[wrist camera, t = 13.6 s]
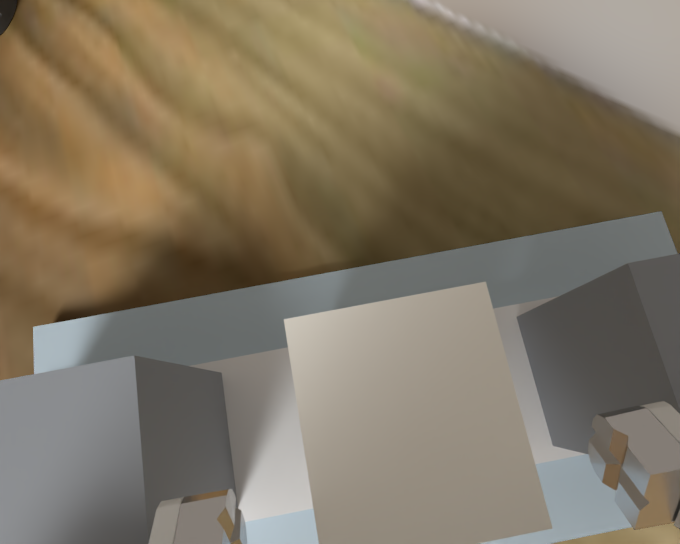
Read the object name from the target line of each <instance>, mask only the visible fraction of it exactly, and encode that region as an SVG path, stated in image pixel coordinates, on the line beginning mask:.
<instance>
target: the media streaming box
mask: <svg viewBox="0 0 680 544" xmlns="http://www.w3.org/2000/svg"><path fill="white" fill-rule="evenodd" d="M16 5H17V0H0V35H1V34H2V33H3V32H4V31H5V30H6V28H7V27H8V25H9V23H10V22H11V20H12V17H13V15H14V12H15V9H16Z"/></svg>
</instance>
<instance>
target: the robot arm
mask: <svg viewBox="0 0 680 544" xmlns="http://www.w3.org/2000/svg"><path fill="white" fill-rule="evenodd" d="M592 428H593V429H594V430H595V432H596V433H595V434H594V435H593V436H592V437H591V438H590V439H589V444H588V453H589V458H590V462H591V464H592V467H593V469H594V471H595V473H596V474H597V476H598V477H599V479H600V480H601V482H602V483H603V484H605V485H607V486H609V487H610V488H612V489H614V490H615V503H616V504H617V505H618V507H619V508H620V510H621V511H622V513H623V514H624V516H625V517H626V519H627V520H628V522H629V523H630V524H631V526H632V527H633V529H634V530H637V529H642V528H648V527H654V526H659V525H665V524H670V523H674V526H676V527H677V528H679V529H680V414H679V413H678V412H677V411H676V410H675V409H674V408H673V407H672V406H671V405H670V404H668V403H667V402H665V401H661V402H655V403H651V404H646V405H642V406H633V407H629V408H624V409H619V410H615V411H610V412H606V413H601V414H597V415H596V416H595V417H594V418H593V421H592ZM235 506H236V496H235V494H234V492H233V490H232V489H226V490H220V491H215V492H209V493H203V494H198V495H192V496H186V497H180V498H175V499H170V500H165V501H161V502H160V504H159V506H158V508H157V509H156V513H155V517H154V522H153V526H152V530H151V535H150V539H149V543H148V544H247V531H246V524H245V520H244V516H243V513H242V511H241V510H240V509H238V508H236V507H235Z"/></svg>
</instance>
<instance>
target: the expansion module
mask: <svg viewBox="0 0 680 544" xmlns="http://www.w3.org/2000/svg"><path fill="white" fill-rule="evenodd" d="M284 325H285V331H286V338H287V344H288V350H289V357H290V363H291V369H292V376H293V382H294V388H295V395H296V401H297V407H298V414H299V420H300V427H301V433H302V439H303V446H304V452H305V458H306V465H307V471H308V477H309V484H310V490H311V496H312V503H313V509H314V516H315V522H316V528H317V535H318V541H319V544H479V543H484V542H489V541H494V540H499V539H504V538H509V537H514V536H518V535H523V534H528V533H533V532H538V531H543V530H548V529H553V527H552V524H551V520H550V516H549V513H548V509H547V505H546V502H545V498H544V494H543V491H542V487H541V483H540V480H539V476H538V472H537V469H536V465H535V461H534V457H533V454H532V450H531V446H530V443H529V439H528V435H527V432H526V428H525V424H524V421H523V417H522V413H521V410H520V406H519V402H518V399H517V395H516V391H515V387H514V384H513V380H512V376H511V373H510V369H509V365H508V362H507V358H506V354H505V351H504V347H503V343H502V340H501V336H500V332H499V329H498V325H497V321H496V318H495V314H494V310H493V306H492V303H491V299H490V295H489V292H488V288H487V284H486V282H481V283H475V284H470V285H465V286H459V287H454V288H449V289H443V290H438V291H433V292H427V293H422V294H416V295H411V296H406V297H400V298H395V299H390V300H384V301H379V302H374V303H368V304H363V305H358V306H352V307H347V308H342V309H336V310H331V311H325V312H320V313H315V314H309V315H304V316H299V317H293V318H288V319H284Z"/></svg>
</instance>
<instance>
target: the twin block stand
mask: <svg viewBox="0 0 680 544" xmlns="http://www.w3.org/2000/svg"><path fill="white" fill-rule="evenodd" d="M481 282H486V284H487V288H488V292H489V295H490V299H491V303H492V306H493V310H494V314H495V318H496V321H497V325H498V329H499V332H500V336H501V340H502V343H503V347H504V351H505V354H506V358H507V362H508V365H509V369H510V373H511V376H512V380H513V384H514V387H515V391H516V395H517V399H518V402H519V406H520V410H521V413H522V417H523V421H524V424H525V428H526V432H527V435H528V439H529V443H530V446H531V450H532V454H533V457H534V461H535V465H536V469H537V472H538V476H539V480H540V483H541V487H542V491H543V494H544V498H545V502H546V505H547V509H548V513H549V516H550V520H551V524H552V527H553V529H548V530H543V531H538V532H533V533H528V534H523V535H518V536H514V537H509V538H504V539H499V540H494V541H489V542H484V543H479V544H551V543H556V542H561V541H566V540H571V539H575V538H580V537H585V536H590V535H595V534H600V533H605V532H610V531H615V530H620V529H624V528H629V527H632V526H631V524H630V523H629V522H628V520H627V519H626V517H625V516H624V514H623V513H622V511H621V510H620V508H619V507H618V505H617V504H616V503H615V490H614V489H612V488H610V487H609V486H607V485H605V484H603V483H602V482H601V480H600V479H599V477H598V476H597V474H596V473H595V471H594V469H593V467H592V464H591V462H590V458H589V453H588V444H589V439H590V438H591V437H592V436H593V435H594V434H595V433H596V432H595V430H594V429H593V428H592V421H593V418H594V417H595V416H596V415H597V414H601V413H606V412H610V411H615V410H619V409H624V408H629V407H633V406H642V405H646V404H651V403H655V402H661V401H665V402H667V403H668V404H670V405H671V406H672V407H673V408H674V409H675V410H676V411H677V412H678V413H679V414H680V253H679V254H678V253H677V251H676V248H675V245H674V243H673V240H672V237H671V235H670V232H669V230H668V227H667V224H666V222H665V219H664V217H663V214H662V211H660V212H654V213H649V214H643V215H638V216H633V217H627V218H622V219H616V220H611V221H605V222H600V223H595V224H589V225H584V226H578V227H573V228H568V229H562V230H557V231H551V232H546V233H540V234H535V235H530V236H524V237H519V238H513V239H508V240H502V241H497V242H492V243H486V244H481V245H475V246H470V247H464V248H459V249H454V250H448V251H443V252H437V253H432V254H426V255H421V256H416V257H410V258H405V259H399V260H394V261H388V262H383V263H378V264H372V265H367V266H361V267H356V268H350V269H345V270H340V271H334V272H329V273H323V274H318V275H312V276H307V277H302V278H296V279H291V280H285V281H280V282H275V283H269V284H264V285H258V286H253V287H247V288H242V289H237V290H231V291H226V292H220V293H215V294H209V295H204V296H199V297H193V298H188V299H182V300H177V301H171V302H166V303H161V304H155V305H150V306H144V307H139V308H133V309H128V310H123V311H117V312H112V313H106V314H101V315H95V316H90V317H85V318H79V319H74V320H68V321H63V322H57V323H52V324H47V325H41V326H36V327H33V342H34V374H33V375H27V376H22V377H17V378H11V379H6V380H1V381H0V544H148V543H149V539H150V535H151V530H152V526H153V522H154V517H155V513H156V509H157V508H158V506H159V504H160V502H161V501H165V500H170V499H175V498H180V497H186V496H192V495H198V494H203V493H209V492H215V491H220V490H226V489H232V490H233V492H234V494H235V496H236V506H235V507H236V508H238V509H240V510H241V511H242V513H243V516H244V520H245V524H246V531H247V544H319V541H318V535H317V528H316V522H315V516H314V509H313V503H312V496H311V490H310V484H309V477H308V471H307V465H306V458H305V452H304V446H303V439H302V433H301V427H300V420H299V414H298V407H297V401H296V395H295V388H294V382H293V376H292V369H291V363H290V357H289V350H288V344H287V338H286V331H285V325H284V319H288V318H293V317H299V316H304V315H309V314H315V313H320V312H325V311H331V310H336V309H342V308H347V307H352V306H358V305H363V304H368V303H374V302H379V301H384V300H390V299H395V298H400V297H406V296H411V295H416V294H422V293H427V292H433V291H438V290H443V289H449V288H454V287H459V286H465V285H470V284H475V283H481Z"/></svg>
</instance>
